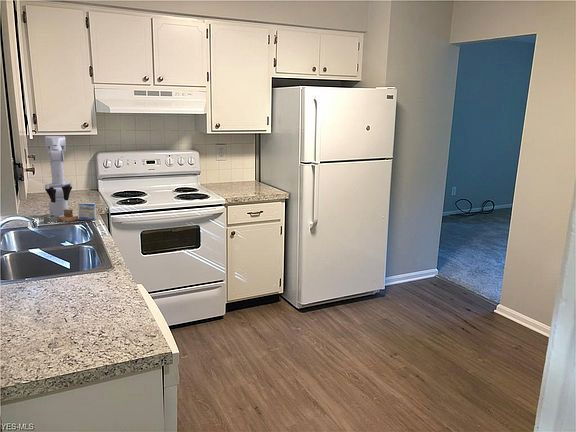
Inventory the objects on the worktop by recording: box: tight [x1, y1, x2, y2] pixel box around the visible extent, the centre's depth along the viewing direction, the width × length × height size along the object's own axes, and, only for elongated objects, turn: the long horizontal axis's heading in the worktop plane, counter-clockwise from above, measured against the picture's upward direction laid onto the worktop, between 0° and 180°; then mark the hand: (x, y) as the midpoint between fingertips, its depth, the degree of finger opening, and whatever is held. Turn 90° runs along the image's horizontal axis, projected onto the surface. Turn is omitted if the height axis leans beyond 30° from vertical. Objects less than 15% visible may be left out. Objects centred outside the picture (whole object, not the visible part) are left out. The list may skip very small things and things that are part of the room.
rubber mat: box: [59, 218, 80, 223], centre depth 237 cm, size 8×8×1 cm
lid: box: [59, 208, 79, 221], centre depth 236 cm, size 6×6×5 cm
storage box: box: [42, 214, 60, 224], centre depth 232 cm, size 5×5×3 cm
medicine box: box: [78, 202, 97, 221], centre depth 238 cm, size 8×4×9 cm, turn 105°
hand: (60, 201), depth 232 cm, fingers open, 7 cm apart
